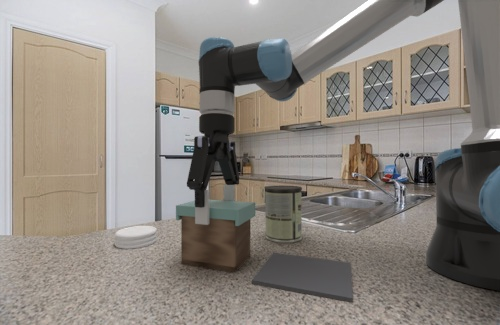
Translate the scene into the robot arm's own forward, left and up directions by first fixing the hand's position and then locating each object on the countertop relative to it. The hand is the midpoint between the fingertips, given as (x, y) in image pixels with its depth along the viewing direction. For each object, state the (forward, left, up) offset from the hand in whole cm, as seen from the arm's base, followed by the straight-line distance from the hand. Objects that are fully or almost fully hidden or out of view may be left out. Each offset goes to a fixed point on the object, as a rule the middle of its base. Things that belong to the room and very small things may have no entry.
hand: (217, 217), depth 52 cm
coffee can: (-10, -21, -9) cm, 25 cm away
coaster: (+25, -3, -9) cm, 27 cm away
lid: (0, 0, +1) cm, 1 cm away
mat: (-19, 0, -9) cm, 21 cm away
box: (0, 0, -9) cm, 9 cm away
